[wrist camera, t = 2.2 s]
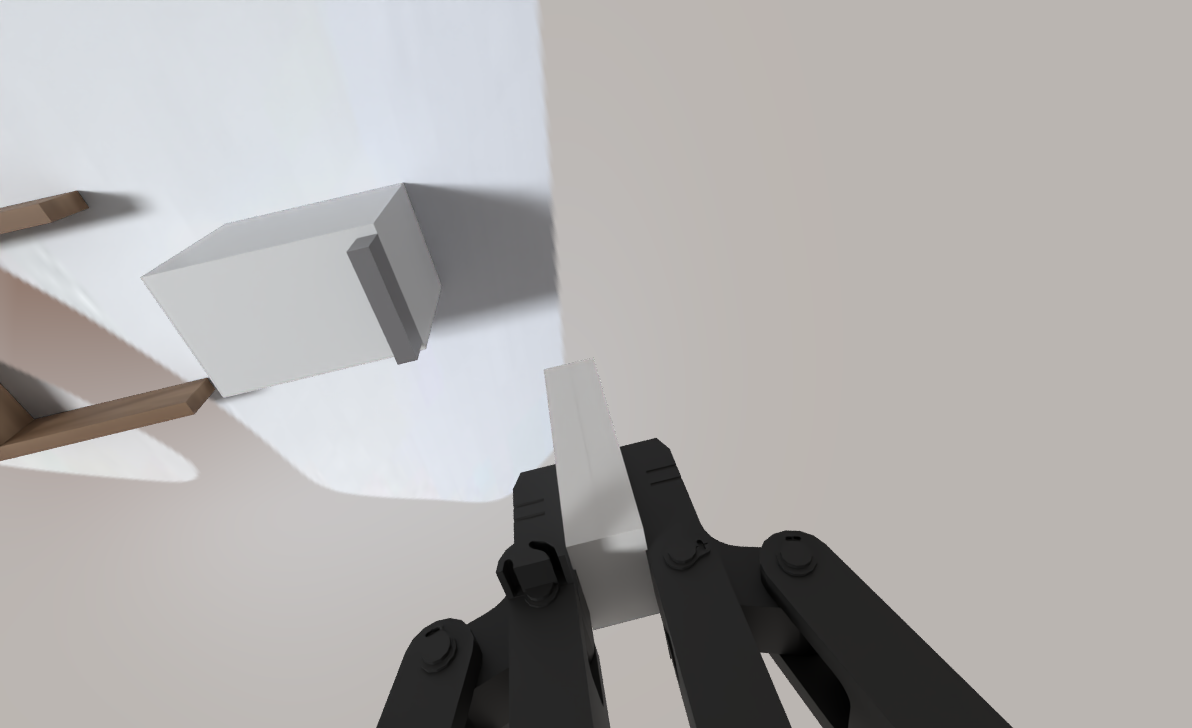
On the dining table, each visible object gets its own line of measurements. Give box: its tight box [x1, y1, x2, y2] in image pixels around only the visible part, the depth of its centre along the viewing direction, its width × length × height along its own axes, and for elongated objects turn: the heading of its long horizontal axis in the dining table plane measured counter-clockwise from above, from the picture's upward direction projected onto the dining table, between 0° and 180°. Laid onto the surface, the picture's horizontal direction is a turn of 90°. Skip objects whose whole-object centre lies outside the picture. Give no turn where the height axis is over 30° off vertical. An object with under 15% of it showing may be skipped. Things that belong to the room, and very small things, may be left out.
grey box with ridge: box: [140, 183, 442, 398], centre depth 30 cm, size 7×11×11 cm, turn 101°
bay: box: [0, 191, 215, 461], centre depth 33 cm, size 14×13×3 cm
